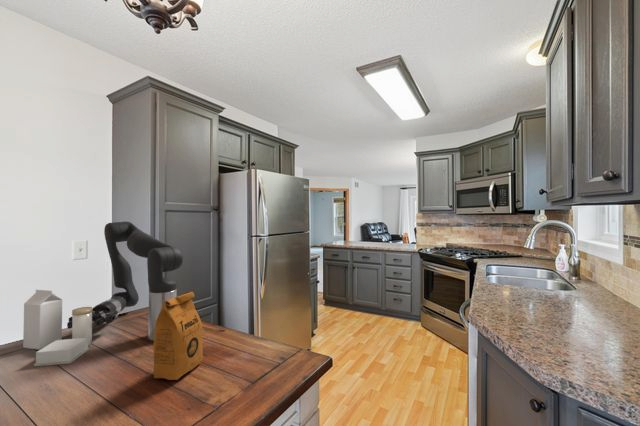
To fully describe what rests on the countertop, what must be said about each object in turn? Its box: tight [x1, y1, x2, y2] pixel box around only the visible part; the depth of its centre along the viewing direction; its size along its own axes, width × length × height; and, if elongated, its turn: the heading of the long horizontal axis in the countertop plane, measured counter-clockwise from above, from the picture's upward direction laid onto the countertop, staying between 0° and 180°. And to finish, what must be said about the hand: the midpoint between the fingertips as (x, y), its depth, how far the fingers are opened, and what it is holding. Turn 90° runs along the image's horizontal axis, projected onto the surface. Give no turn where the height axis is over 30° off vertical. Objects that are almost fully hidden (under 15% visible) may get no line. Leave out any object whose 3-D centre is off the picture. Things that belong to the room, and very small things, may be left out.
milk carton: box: [22, 289, 63, 350], centre depth 102 cm, size 7×7×19 cm
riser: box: [33, 338, 90, 367], centre depth 93 cm, size 10×10×4 cm
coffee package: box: [153, 291, 204, 381], centre depth 85 cm, size 10×12×22 cm
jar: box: [71, 306, 94, 346], centre depth 103 cm, size 6×6×12 cm
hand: (82, 324), depth 103 cm, fingers open, 8 cm apart
